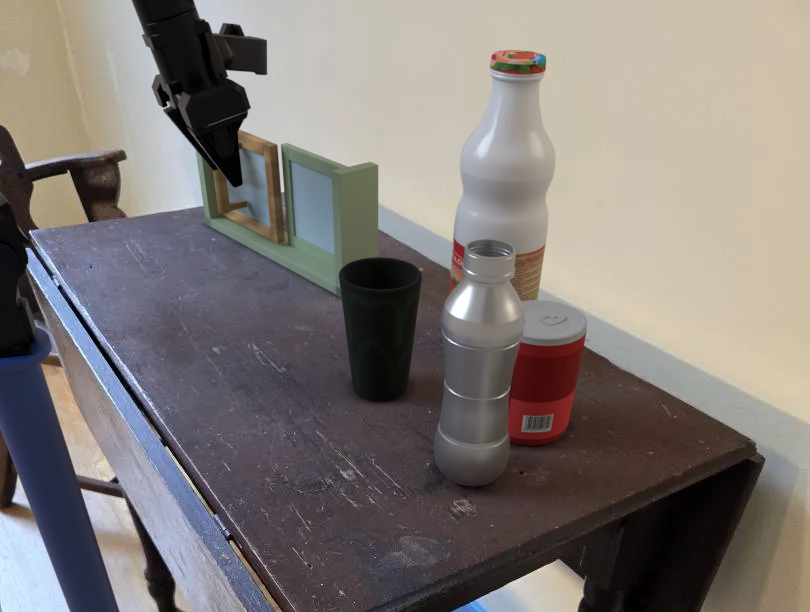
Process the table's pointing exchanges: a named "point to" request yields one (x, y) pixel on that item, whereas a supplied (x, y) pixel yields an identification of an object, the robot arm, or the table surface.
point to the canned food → (545, 372)
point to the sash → (254, 189)
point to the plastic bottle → (479, 365)
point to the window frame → (311, 216)
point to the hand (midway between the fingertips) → (227, 177)
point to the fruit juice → (508, 172)
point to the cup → (380, 324)
